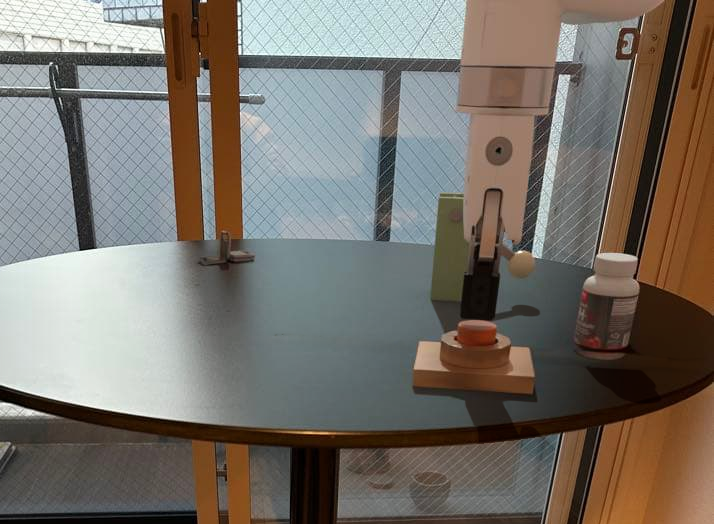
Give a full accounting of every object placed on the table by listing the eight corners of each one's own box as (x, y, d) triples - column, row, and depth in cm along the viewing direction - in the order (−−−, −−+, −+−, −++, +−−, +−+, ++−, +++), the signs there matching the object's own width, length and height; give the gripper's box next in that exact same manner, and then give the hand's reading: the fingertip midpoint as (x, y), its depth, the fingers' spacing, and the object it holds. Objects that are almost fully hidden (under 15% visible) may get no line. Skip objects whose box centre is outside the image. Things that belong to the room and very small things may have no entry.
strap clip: (248, 256, 125) (247, 227, 123) (256, 260, 123) (255, 230, 121) (196, 261, 122) (195, 231, 120) (204, 265, 120) (202, 235, 117)
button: (494, 339, 78) (496, 321, 77) (495, 350, 75) (497, 331, 74) (456, 336, 78) (458, 318, 77) (456, 347, 75) (457, 329, 74)
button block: (527, 363, 81) (532, 329, 79) (532, 394, 73) (538, 357, 72) (417, 357, 83) (420, 323, 81) (412, 386, 75) (414, 349, 73)
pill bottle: (560, 349, 85) (577, 253, 80) (599, 343, 87) (618, 249, 82) (596, 364, 81) (616, 264, 76) (636, 357, 83) (658, 259, 78)
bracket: (495, 299, 103) (509, 192, 97) (497, 317, 96) (512, 202, 89) (402, 294, 105) (409, 188, 99) (397, 312, 98) (404, 199, 91)
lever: (521, 280, 99) (539, 259, 97) (522, 286, 96) (541, 264, 95) (439, 213, 97) (456, 190, 95) (438, 218, 94) (456, 194, 93)
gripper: (559, 97, 59) (521, 343, 68) (543, 92, 72) (514, 300, 81) (456, 95, 60) (433, 337, 69) (459, 90, 73) (439, 296, 82)
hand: (476, 317), depth 75 cm, fingers closed
